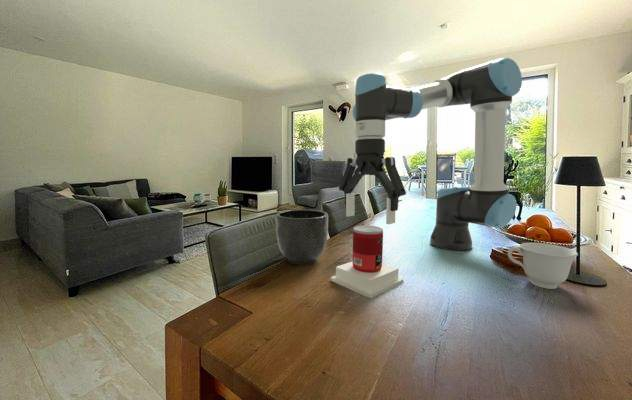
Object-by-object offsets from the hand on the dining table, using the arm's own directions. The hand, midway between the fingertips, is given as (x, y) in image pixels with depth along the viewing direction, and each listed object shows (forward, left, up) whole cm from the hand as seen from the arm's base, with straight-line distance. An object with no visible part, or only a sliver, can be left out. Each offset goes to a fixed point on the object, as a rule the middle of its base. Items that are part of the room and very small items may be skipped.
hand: (369, 219), depth 77 cm
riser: (0, 0, -17) cm, 17 cm away
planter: (+3, -25, -18) cm, 31 cm away
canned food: (0, 0, -14) cm, 14 cm away
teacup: (-34, +31, -18) cm, 49 cm away
